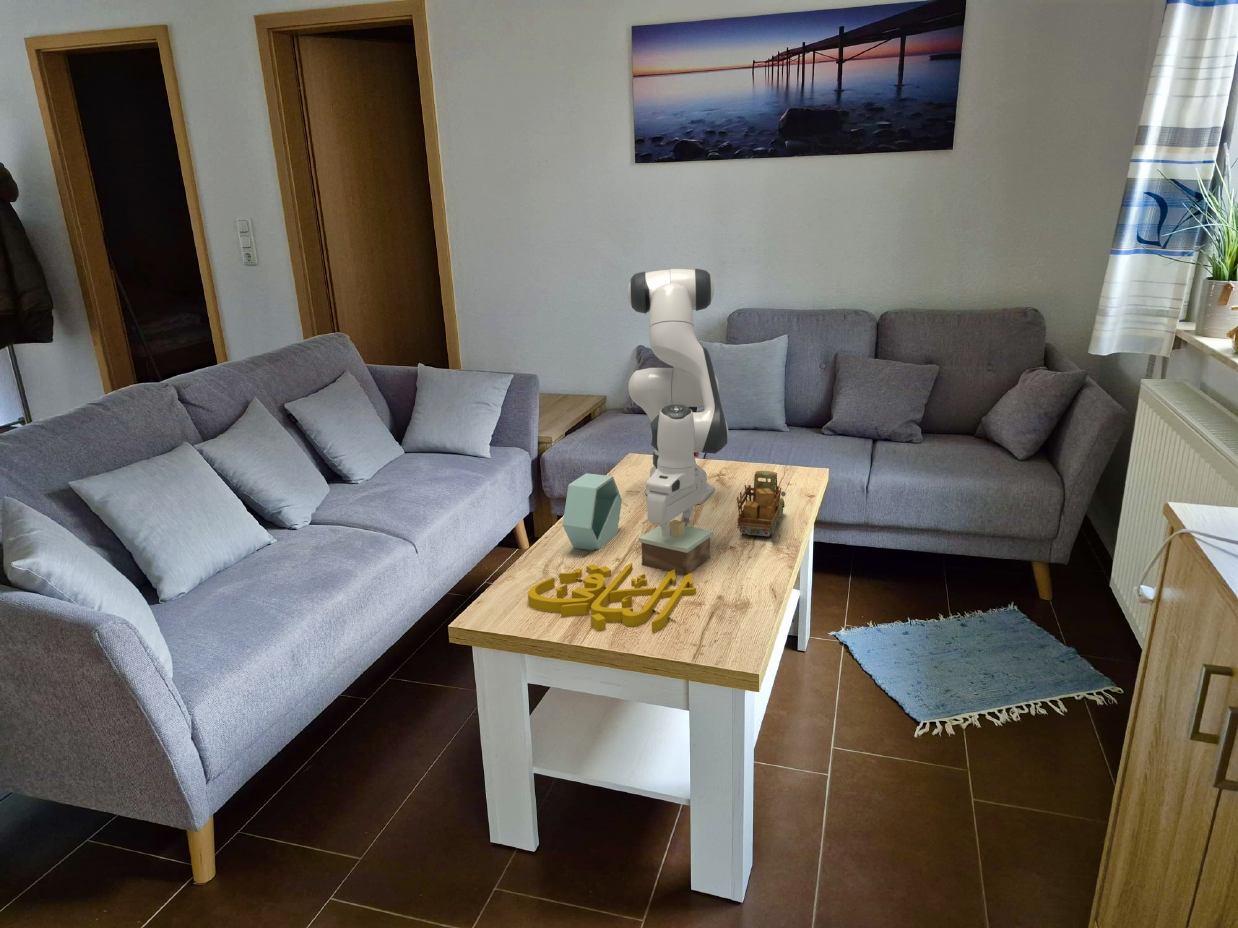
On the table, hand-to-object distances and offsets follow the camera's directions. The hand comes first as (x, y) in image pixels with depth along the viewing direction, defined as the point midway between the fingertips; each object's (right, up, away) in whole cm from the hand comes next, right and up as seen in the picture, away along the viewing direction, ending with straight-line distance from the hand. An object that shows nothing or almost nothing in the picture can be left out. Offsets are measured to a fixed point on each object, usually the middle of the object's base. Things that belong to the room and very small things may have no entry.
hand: (676, 530), depth 202 cm
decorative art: (-15, -15, -14) cm, 25 cm away
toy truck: (+25, -1, +26) cm, 36 cm away
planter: (-20, -5, +17) cm, 27 cm away
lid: (0, -2, +1) cm, 2 cm away
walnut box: (0, -9, +3) cm, 9 cm away
